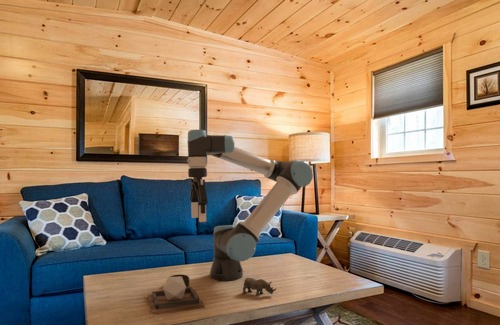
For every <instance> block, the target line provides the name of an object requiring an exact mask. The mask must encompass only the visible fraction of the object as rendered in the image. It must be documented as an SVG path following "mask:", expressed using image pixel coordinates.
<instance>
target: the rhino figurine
mask: <svg viewBox="0 0 500 325" xmlns="http://www.w3.org/2000/svg"><path fill="white" fill-rule="evenodd" d="M271 284H272V281H270V282H267V281H266V280H265V279H262V278H260V279H259V278H258V279H255V278H252V277H246V278H245V279H244V282H243V287H242V294H247V293H252V292H253V291H256V293H255V295H256V296H260V295H263V294H264V292H263V291H264V290H265V292H267V293H269V294H271V295H273V293H274V292H275V291H276V290H277V288H274V287H271ZM273 288H274V289H273ZM246 289H247V291H246Z"/></svg>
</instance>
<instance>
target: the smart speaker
mask: <svg viewBox="0 0 500 325" xmlns="http://www.w3.org/2000/svg"><path fill="white" fill-rule="evenodd" d="M180 276H182V278H183V281H184V283H185V286H186V288H188V287H189V286H190V277H189V275H186V274H173V275H171V276H169V277H180Z"/></svg>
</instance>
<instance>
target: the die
mask: <svg viewBox="0 0 500 325" xmlns="http://www.w3.org/2000/svg"><path fill="white" fill-rule="evenodd" d="M186 288H187V287H186V286H185V283H184V281H183V278H182V276H180V277H170V276H167V278H166V281H165V283H164V286H163V287H162V291H163V290H164V293H165V295H166V298H167V301H172V300H182V298H183V295H184V292H185V289H186Z"/></svg>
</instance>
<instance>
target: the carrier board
mask: <svg viewBox="0 0 500 325" xmlns="http://www.w3.org/2000/svg"><path fill="white" fill-rule="evenodd" d="M148 300H149V301H148ZM147 301H148V305H149V308H150V309H151V310H150V309H149V310H150V314H155V315H161V314H160V313H162V314H169V313H175V312H183V311H191V310H197V309H204V308H205V303H204V301H203V300H202V298H201V296H200V295H199V294H198V292H197V290H196V289H195V288H193V287H192V286H187V287H186V289H185V292H184V295H183V298H182V300H172V301H167V298H166V295H165V293H164V290H163V289H162V290H156V291H152V292H151V293H149V294H147ZM190 309H191V310H190Z"/></svg>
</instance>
